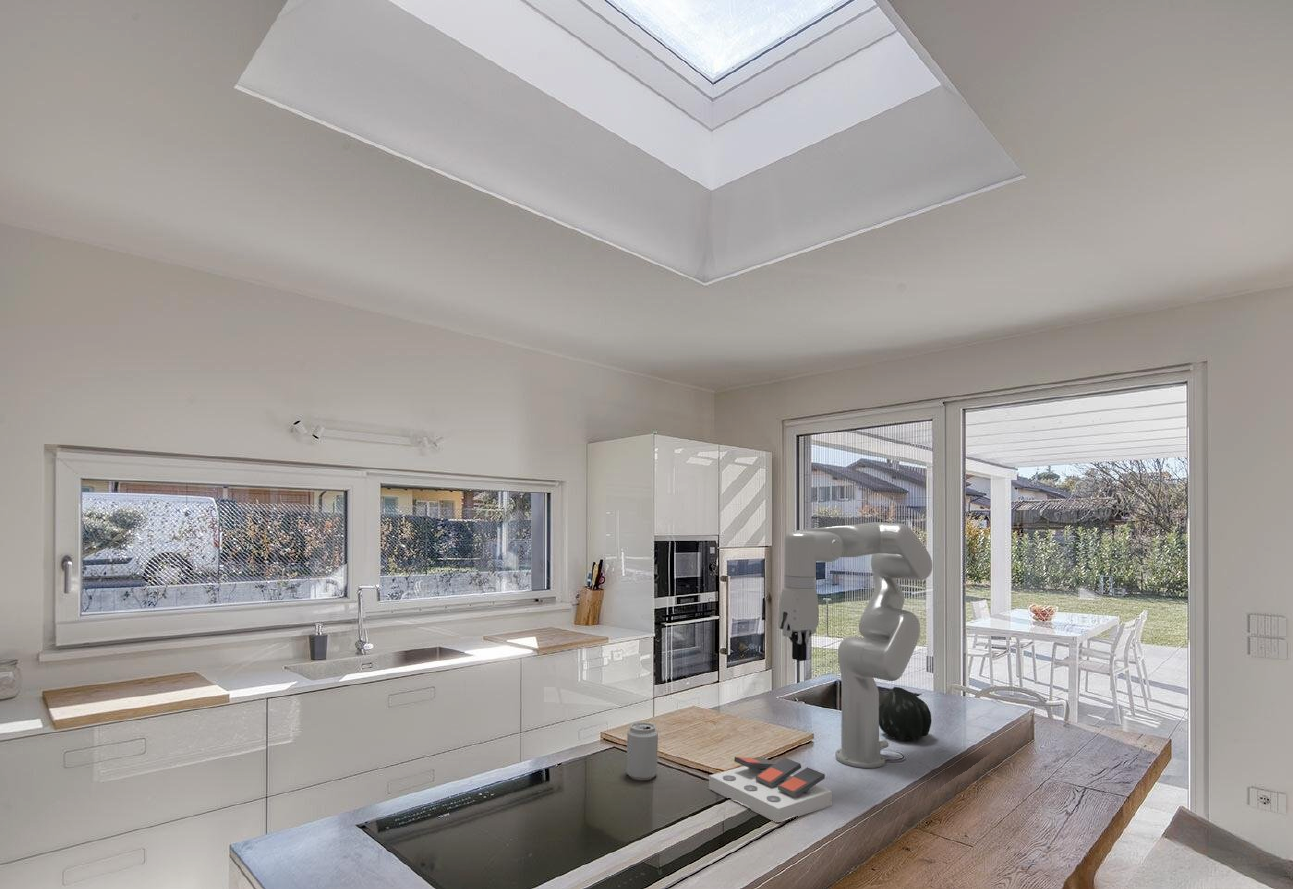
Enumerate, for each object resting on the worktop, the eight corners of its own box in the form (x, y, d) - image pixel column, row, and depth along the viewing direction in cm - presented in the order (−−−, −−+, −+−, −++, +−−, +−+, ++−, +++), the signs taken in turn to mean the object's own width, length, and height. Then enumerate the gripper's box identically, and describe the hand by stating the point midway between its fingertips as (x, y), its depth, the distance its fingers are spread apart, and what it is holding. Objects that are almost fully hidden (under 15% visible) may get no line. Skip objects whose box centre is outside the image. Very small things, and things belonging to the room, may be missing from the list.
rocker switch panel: (760, 773, 181) (761, 757, 181) (831, 805, 163) (831, 787, 163) (708, 788, 171) (709, 771, 171) (778, 823, 153) (778, 804, 153)
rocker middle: (785, 761, 174) (784, 756, 174) (801, 767, 170) (800, 763, 170) (755, 780, 168) (755, 775, 168) (771, 787, 164) (770, 782, 164)
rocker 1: (763, 762, 180) (764, 757, 180) (778, 768, 175) (779, 763, 176) (734, 761, 174) (734, 756, 174) (748, 767, 170) (749, 762, 170)
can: (653, 782, 174) (655, 731, 174) (623, 779, 175) (624, 728, 176) (659, 771, 181) (660, 721, 182) (630, 768, 182) (631, 719, 183)
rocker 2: (807, 771, 169) (807, 766, 168) (825, 778, 164) (824, 773, 164) (778, 789, 163) (777, 784, 163) (795, 797, 159) (794, 792, 159)
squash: (948, 720, 212) (913, 674, 219) (929, 733, 201) (893, 685, 208) (913, 744, 219) (880, 699, 226) (892, 758, 207) (858, 711, 214)
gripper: (808, 580, 187) (808, 653, 185) (767, 583, 178) (766, 659, 177) (832, 583, 181) (831, 659, 179) (790, 586, 172) (789, 666, 170)
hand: (799, 659), depth 178 cm, fingers closed
